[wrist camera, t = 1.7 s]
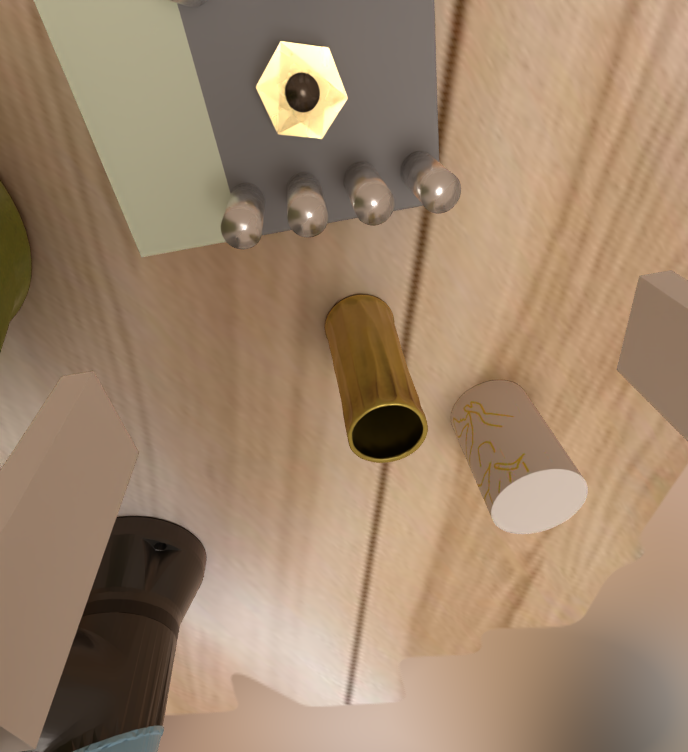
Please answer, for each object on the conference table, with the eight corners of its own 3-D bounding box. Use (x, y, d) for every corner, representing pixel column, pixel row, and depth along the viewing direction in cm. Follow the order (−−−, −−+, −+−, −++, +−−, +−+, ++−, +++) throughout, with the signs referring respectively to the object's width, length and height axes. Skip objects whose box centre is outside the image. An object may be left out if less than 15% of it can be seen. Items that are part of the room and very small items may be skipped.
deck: (147, 247, 36) (141, 257, 35) (37, -24, 27) (22, -28, 25) (433, 194, 36) (440, 202, 35) (422, -96, 27) (431, -104, 25)
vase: (313, 342, 43) (325, 456, 31) (342, 283, 40) (366, 384, 28) (374, 362, 45) (406, 476, 33) (406, 307, 42) (453, 412, 30)
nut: (287, 148, 32) (288, 156, 29) (246, 59, 29) (243, 61, 26) (351, 115, 31) (356, 121, 29) (316, 21, 28) (318, 20, 26)
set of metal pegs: (235, 221, 34) (227, 252, 29) (159, -46, 25) (130, -65, 21) (435, 184, 34) (461, 209, 29) (425, -95, 25) (459, -127, 21)
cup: (471, 373, 47) (521, 462, 37) (542, 388, 49) (607, 476, 39) (438, 434, 51) (474, 528, 41) (504, 445, 53) (554, 538, 43)
